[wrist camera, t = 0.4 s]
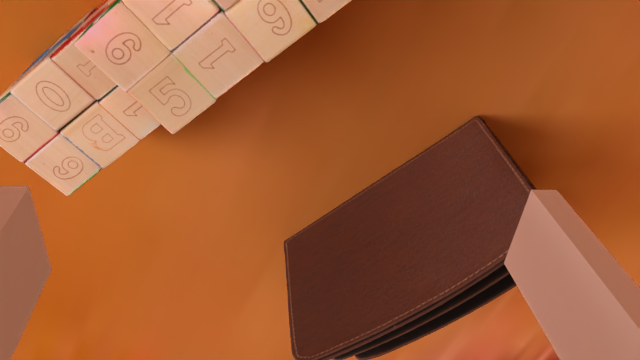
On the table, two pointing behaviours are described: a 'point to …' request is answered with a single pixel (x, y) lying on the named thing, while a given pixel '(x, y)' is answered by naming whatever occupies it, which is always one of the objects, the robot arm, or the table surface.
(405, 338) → the letter holder
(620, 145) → the table surface
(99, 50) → the stack of blocks
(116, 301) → the table surface
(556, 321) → the robot arm
